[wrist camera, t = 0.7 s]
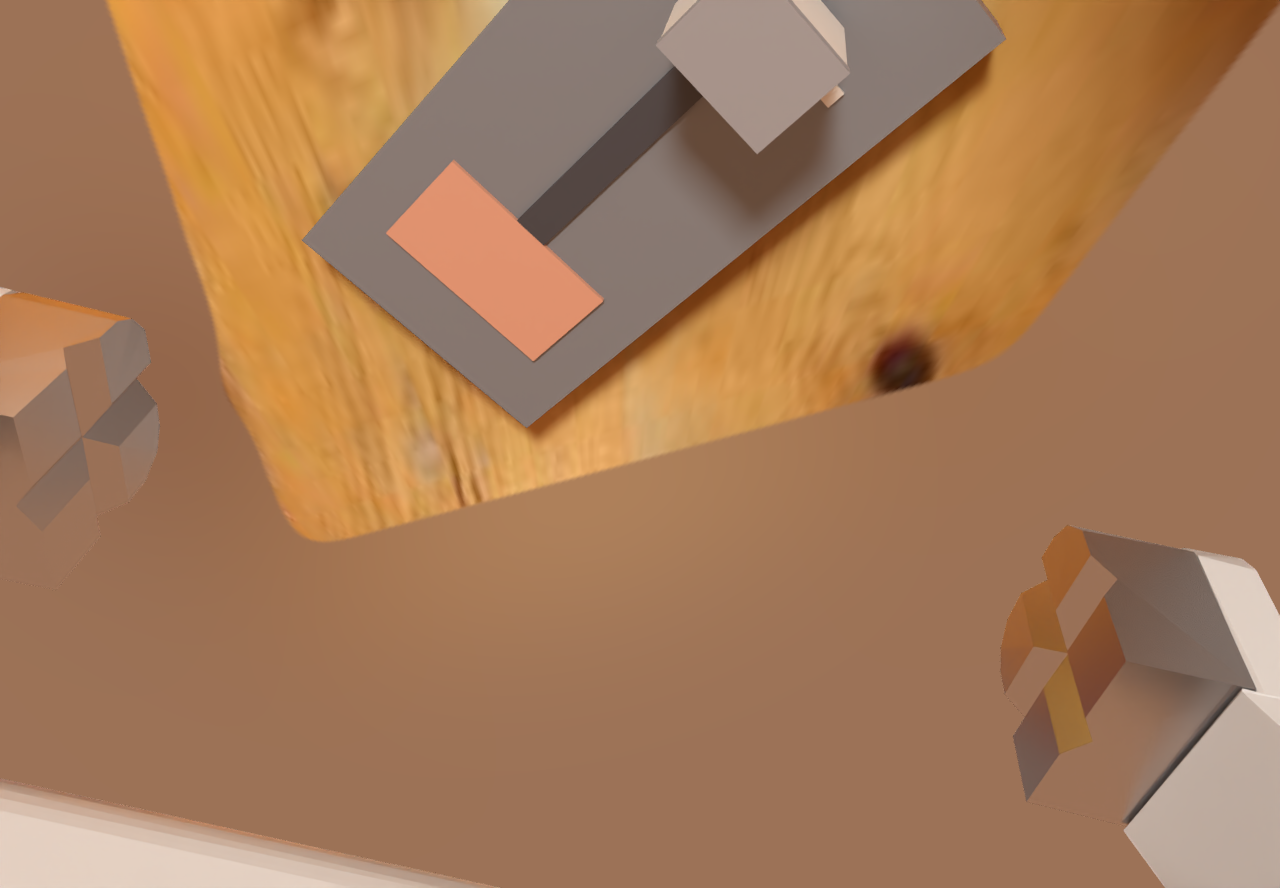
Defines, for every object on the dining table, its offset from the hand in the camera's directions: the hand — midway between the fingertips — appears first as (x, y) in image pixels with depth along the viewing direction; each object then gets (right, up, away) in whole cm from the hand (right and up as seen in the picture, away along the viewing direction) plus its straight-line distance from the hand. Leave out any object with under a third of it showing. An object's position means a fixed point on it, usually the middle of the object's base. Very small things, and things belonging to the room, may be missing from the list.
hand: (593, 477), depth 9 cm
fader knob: (+5, +16, +29) cm, 34 cm away
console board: (0, +14, +36) cm, 38 cm away
